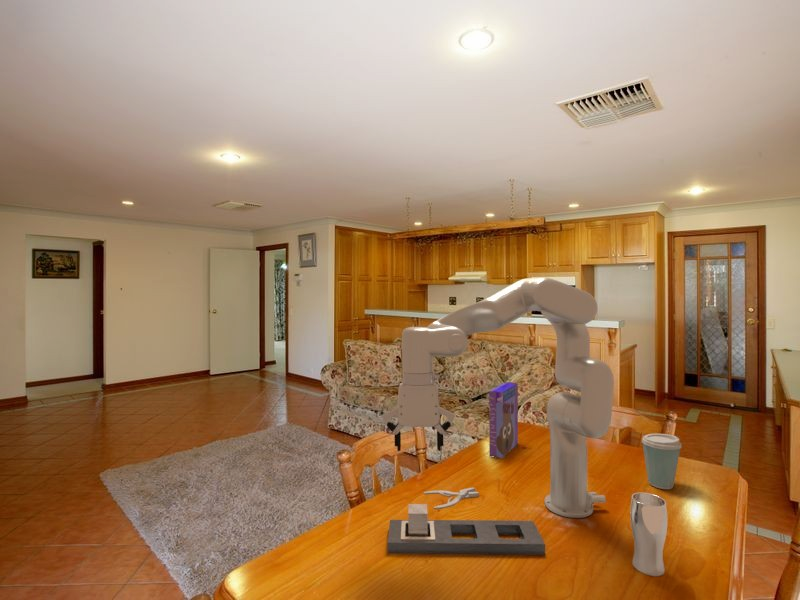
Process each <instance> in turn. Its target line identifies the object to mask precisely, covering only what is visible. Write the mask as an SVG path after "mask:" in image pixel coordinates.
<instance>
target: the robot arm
mask: <svg viewBox="0 0 800 600" xmlns="http://www.w3.org/2000/svg"><path fill="white" fill-rule="evenodd" d="M536 311H537V312H540V313H541V314H542V316H543V317H544V318H545V319H546V320H547V321H548V322H549V323H550V325H551V327H553V329H554V331H555V335H556V351H555V354H556V355H555V364H554V365H555V367H554V378H555V380H556V382H557V383H558V384H559V385H560V386H562V387H564V388H566V389H569V390H573V391H575V392H578V393H580V395H578V394H575V393H572V392H566V391H562V392H557V393H555V394H553V395H552V396H551V397H550V398H549V400H548V401H547V404H546V416H547V423H548V427H549V434H550V439H549V441H550V444H549V445H550V448H549V449H550V457H549V458H550V466H549V467H550V475H549V476H550V487H549V488H550V492H549V494H546V496H545V497H544V506H545V507H546V508H547V510H549V511H551V512H552V513H555V514H556V515H559V516H561V517H567V518H570V519H572V518H573V519H581V518H587V517H588V516H591V515H592V514H593V512H594V504H595V503H598V504H601V503H602V504H606V501H607V500H606V496H605V495H604V494H597V492H596V491H588V442H587V438H588V439H591V440H592V439H593V440H597V439H601V438H602V437H604V436H605V435H606V434H607V433H608V431H609V429H610V427H611V422H612V415H613V402H614V401H613V400H614V390H615V386H614V385H615V379H614V378H615V377H614V374H613V372H612V369H611V367H610V366H609V365H608V364H607V363H606V362H605V361H603V360H601V359H597V358H594V357H591V356H590V355H591V354H590V352H591V349H590V348H591V343H590V341H591V340H590V339H591V335H590V333H589V329H588V327H587V324H589V323H590V322H592V321H593V320H594V319H595V317H596V316H597V314H598V304H597V301H596V298H595V297H594V296H593V295H592V294H591V293H589V292H587V290H583V289H581V288H577V287H575V286H572V285H570V284H567V283H564V282H562V281H559V280H556V279H553V278H549V277H528V278H527V277H526V278H522V279H520V280H518V281H517V280H516V281H515V282H514V283H511V284H509V285H508V286H506V287H504V288H503V289H500V290H499V291H497V292H494V293H493V294H492V295H490V296H487V297H486V298H484V299H482V300H480V301H477V302H474V303H471V304H469V305H467V306H464V307H462V308H459V309H457V310H455V311H452V312H450V313H448V314H446V315H444V316H442V317H441V318H438V319H437V320H434V321H433V322H431V323H430V324H429V325H427V326H426V327H425V326H409V327H406V328H404V329H403V330H402V333H401V358H402V359H401V361H402V363H401V364H402V365H401V367H402V372H401V373H402V382H401V383H399V386H398V393H397V406H396V407H395V408H393V409H391V410H389V411H387V412H385V413H384V414H382V419H383V421H384V423H385V424H386V427H387V428H388V429H389V430H390V431H391V432H392V433H393V434H394V447H397V452H401V448H402V446H401V445H402V443H401V441H402V440H401V438H402V437H401V431H402V429H403V428H404V427H405V428H431V427H434V428H435V430H437V431H436V448H437V451H438V452H441V450H442V447H444V434H445V433H446V432H447V430H448V429H449V428H450V427H451V425H452V423H453V421H454V420H455V418H456V417H455V414H454V413H453V412H451V411H449V410H447V409H445V408H443V407H441V406H440V397H439V389H438V384H437V382H435V381H437V380H440V379H441V377H440V375H441V374H440V373H438V372H435V370H434V368H435V367H434V366H435V365H434V361H435V360H434V357H442V358H455V357H459V356H461V355H462V354H464V353H465V351H466V349H467V348H468V345H469V338H468V336H470V335H473V334H480V333H486V332H488V333H489V332H492V331H498V330H500V329H502V328H505V327H506V326H507V325H509V324H511V323H513V322H514V321H516V320H518V319H519V318H521V317H523V316H525V315H526V314H528V313H530V312H536ZM396 415H397V423H396V424H395V423H394V422H393V421H391V420H392V419H390V418H392V417H394V416H396ZM441 415H442V416H444V417H446V420H445V421H444V423H441V422H440V421H441Z"/></svg>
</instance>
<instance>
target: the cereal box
mask: <svg viewBox="0 0 800 600" xmlns="http://www.w3.org/2000/svg"><path fill="white" fill-rule="evenodd" d="M518 387H519V385H518V383H517V382H511V381H510V382H509V381H507V382H503V383H502V384H500V385H498V386H496V387H495V388H493V389H491V390H489V391H488V392H489V394H488V397H489V408H488V409H489V410H488V411H489V413H488V414H489V416H488V417H489V424H488V425H489V433H488V434H489V438H488V439H489V441H488V442H489V444H488V445H489V446H488V447H489V451H488V452H489V457H490V456H494V457H493V458H495V457H498V458H497V459H499V458H503V457H504V456H505V455H506V454H507V453H508V452H509V451H510V450H511V449H512V450H514V448H515V447H516V446H518V444H519V439H518V438H519V436H518V434H519V424H518V423H519V422H518V421H519V417H518V416H519V415H518V413H519V411H518V410H519V409H518V408H519V405H518V404H519V398H518V397H519V395H518V394H519V393H518V392H519V390H518V389H519V388H518ZM512 450H511V451H512ZM511 451H510V452H511ZM510 452H509V453H510ZM509 453H508V454H509ZM508 454H507V455H508ZM507 455H506V456H507ZM506 456H505V457H506ZM505 457H504V458H505ZM504 458H503V459H504Z"/></svg>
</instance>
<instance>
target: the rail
mask: <svg viewBox="0 0 800 600" xmlns="http://www.w3.org/2000/svg"><path fill="white" fill-rule="evenodd" d="M427 521H428V535H429V536H428V537H409V536H407V535H409V528H408V519H389V527H388V536H387V554H397V555H398V554H404V555H405V554H406V555H407V554H409V555H411V554H417V555H420V554H421V555H425V554H426V555H511V556H512V555H513V556H514V555H516V556H517V555H518V556H519V555H521V556H522V555H523V556H524V555H525V556H531V555H532V556H545V555H546V543H545V541H544V539H543V537H542V534H541V533H540V531H539V529H538V528H537V525H536V523H535V521H534V520H499V519H498V520H496V519H495V520H487V519H486V520H482V519H478V520H477V519H471V520H470V519H463V520H462V519H459V520H458V519H427ZM453 535H467V536H468V535H472V536H473V535H474V538H463V537H462V538H457V537H454V538H453ZM499 535H500V536H502V535H503V536H519V538H500V537H499Z"/></svg>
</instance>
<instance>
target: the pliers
mask: <svg viewBox="0 0 800 600" xmlns="http://www.w3.org/2000/svg"><path fill="white" fill-rule="evenodd" d="M432 494H433V495H435V494H436V495H441V496H443V497H447V496H448V500H447V503H443V504H440V505H437V506H436V505H435V506H433V510H437V509H438V510H439V509H446V508H449V507H452V506H455V505H456V504H458V503H459V502H460V501H461V500H463V499H471V497H472V498H479V495H480V494H479V491H476V487H469V488H467V487H466V488H464V489H460V490H459V492H454V491H451V490H450V491H449V490H440V489H439V490H429V491H424V492H423V495H432ZM452 495H454V496H453V497H455V498H454V499H453V497H451V496H452ZM455 495H457V496H455Z"/></svg>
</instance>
